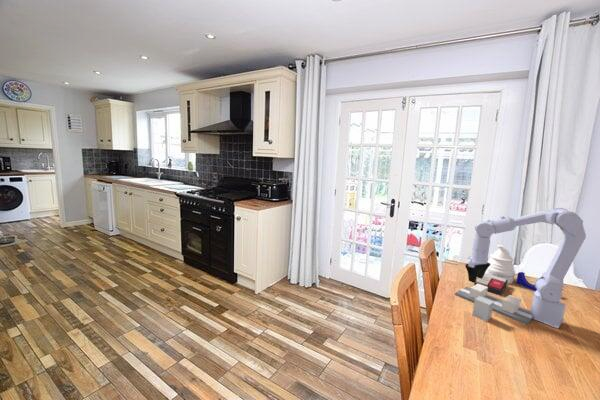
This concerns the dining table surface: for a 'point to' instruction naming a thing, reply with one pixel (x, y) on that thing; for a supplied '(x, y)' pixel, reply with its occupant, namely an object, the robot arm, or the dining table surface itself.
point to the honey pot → (501, 265)
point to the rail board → (499, 306)
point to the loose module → (483, 308)
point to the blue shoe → (524, 281)
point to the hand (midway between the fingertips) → (475, 279)
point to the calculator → (493, 283)
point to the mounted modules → (508, 303)
